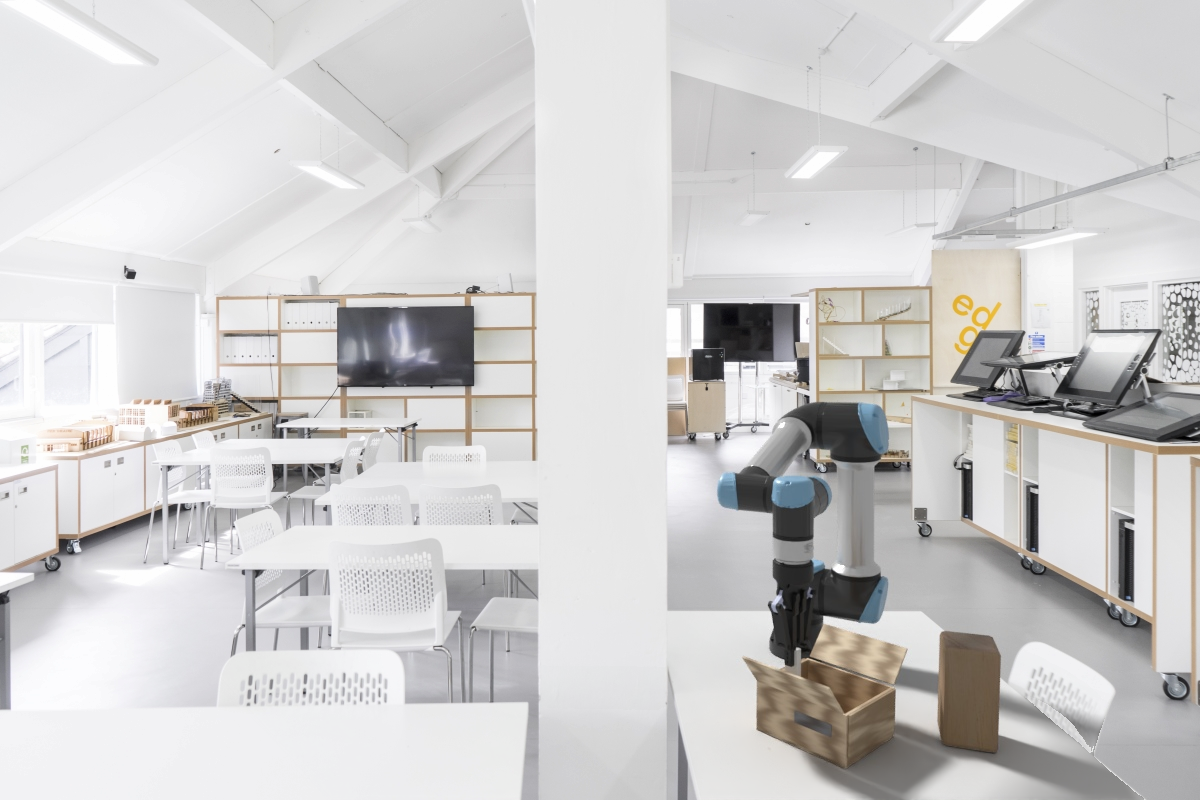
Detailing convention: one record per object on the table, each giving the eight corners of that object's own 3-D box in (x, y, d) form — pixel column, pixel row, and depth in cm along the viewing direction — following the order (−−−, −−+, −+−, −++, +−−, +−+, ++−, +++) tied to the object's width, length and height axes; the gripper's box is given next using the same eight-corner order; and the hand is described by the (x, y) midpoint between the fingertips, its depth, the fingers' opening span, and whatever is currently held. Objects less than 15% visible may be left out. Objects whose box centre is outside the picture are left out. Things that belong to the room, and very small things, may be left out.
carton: (754, 728, 156) (754, 680, 156) (804, 702, 168) (805, 657, 168) (847, 770, 141) (848, 717, 140) (896, 737, 153) (897, 688, 152)
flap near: (757, 681, 155) (742, 657, 151) (758, 679, 155) (743, 655, 151) (843, 714, 141) (828, 689, 137) (844, 712, 141) (829, 687, 137)
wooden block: (990, 731, 155) (993, 634, 154) (998, 755, 146) (1001, 652, 145) (936, 723, 159) (939, 628, 157) (941, 746, 149) (944, 646, 148)
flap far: (809, 656, 167) (823, 623, 170) (810, 656, 167) (824, 624, 171) (893, 684, 153) (907, 648, 156) (894, 685, 153) (907, 649, 156)
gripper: (790, 570, 137) (790, 698, 139) (829, 556, 146) (828, 676, 148) (755, 562, 143) (756, 684, 145) (795, 548, 151) (795, 664, 153)
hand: (792, 680), depth 146 cm, fingers closed
